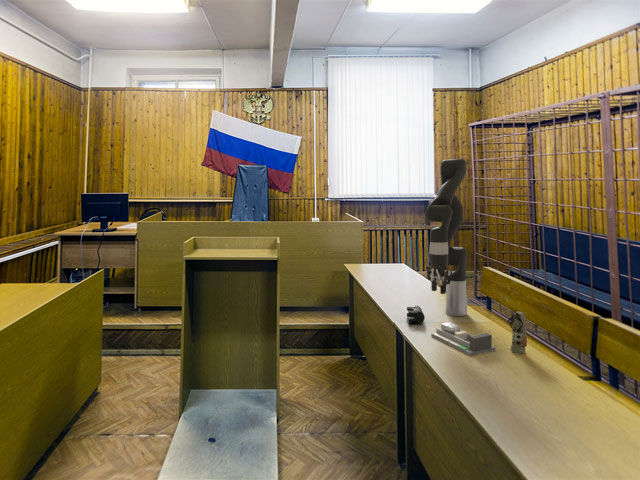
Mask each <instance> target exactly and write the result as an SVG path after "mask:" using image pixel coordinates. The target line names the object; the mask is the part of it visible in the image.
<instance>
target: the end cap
mask: <svg viewBox="0 0 640 480" xmlns="http://www.w3.org/2000/svg"><path fill="white" fill-rule="evenodd" d="M406 311H407V313H406V321H407V324H408V326H420V325H421V324H423V323H424V322H425V318H426V317H425V314H424V311H423V310H422V308H421V307H420V306H419V305H414V306H407V307H406Z"/></svg>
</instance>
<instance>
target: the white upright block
mask: <svg viewBox="0 0 640 480" xmlns="http://www.w3.org/2000/svg"><path fill="white" fill-rule="evenodd" d="M467 333H468V332H467V331H464V330H462V331H460V332H455V334H454V335H455V336H457V337H459V338H461V339H463V340H466V339H467Z"/></svg>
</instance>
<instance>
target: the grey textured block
mask: <svg viewBox="0 0 640 480" xmlns="http://www.w3.org/2000/svg"><path fill="white" fill-rule="evenodd" d="M440 326H441V327H440V329H442V330H444V331H446V332H448V333H450V334H452V335H454V334H455V332H460V330H461V326H460V325H457V324H455V323H453V322H451V321H449V322H444V323H441V325H440Z"/></svg>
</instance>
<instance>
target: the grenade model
mask: <svg viewBox="0 0 640 480" xmlns="http://www.w3.org/2000/svg"><path fill="white" fill-rule="evenodd" d="M513 313H514V314H513V315H512V316H510V317H509V318H508V319H507V321H506V322H507V324H508V325H509V326H510V328H511V330H512V335H511V336H512V337H511V345H510V352H512V353H513V354H517V355H523V354H525V353H526V347H527V346H528V342H527V341H528V340H527V339H528V337H527V318H526V315H525V313H524V312H522V311H519V310H517V311H514V312H513Z"/></svg>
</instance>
